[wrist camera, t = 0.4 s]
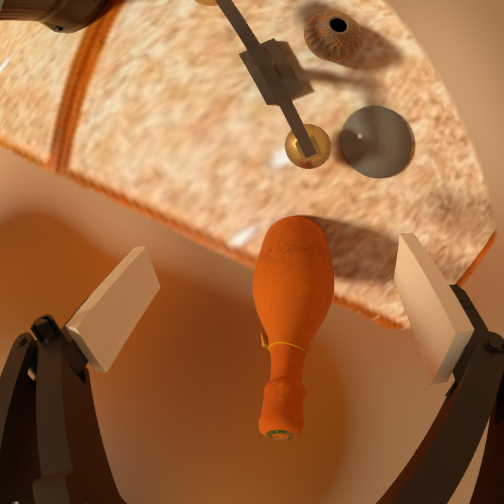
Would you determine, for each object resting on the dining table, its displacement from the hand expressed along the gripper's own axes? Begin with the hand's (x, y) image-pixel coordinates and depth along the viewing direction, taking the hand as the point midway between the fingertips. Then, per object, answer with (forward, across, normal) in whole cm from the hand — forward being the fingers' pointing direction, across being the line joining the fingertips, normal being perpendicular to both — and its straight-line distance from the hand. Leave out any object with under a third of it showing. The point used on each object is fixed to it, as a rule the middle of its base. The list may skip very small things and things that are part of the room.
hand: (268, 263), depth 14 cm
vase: (+27, +8, +16) cm, 32 cm away
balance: (+27, -1, +12) cm, 29 cm away
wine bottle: (+27, 0, -13) cm, 30 cm away
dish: (+26, +12, +2) cm, 29 cm away
